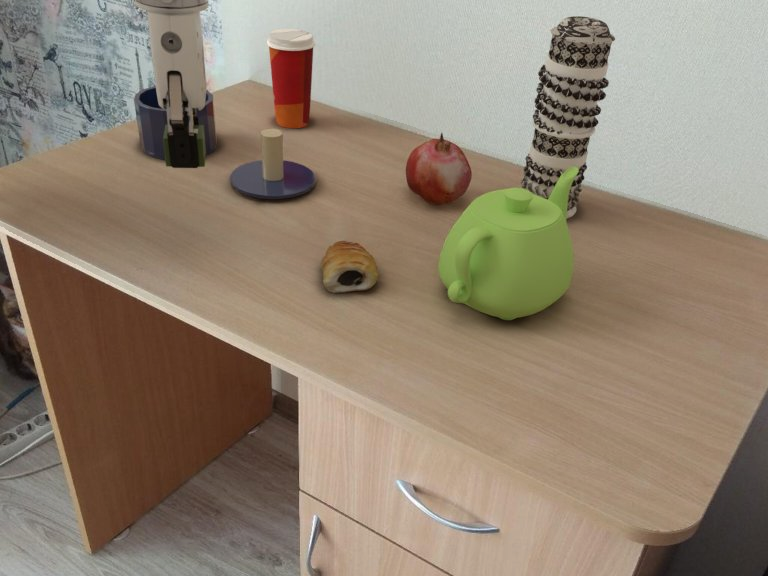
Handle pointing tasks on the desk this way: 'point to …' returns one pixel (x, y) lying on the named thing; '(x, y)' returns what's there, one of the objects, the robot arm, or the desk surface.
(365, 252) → the pastry
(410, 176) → the fruit
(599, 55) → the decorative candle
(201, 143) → the olive cube with label
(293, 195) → the lid
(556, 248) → the teapot
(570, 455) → the desk surface
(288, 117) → the paper cup
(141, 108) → the dark blue round pot
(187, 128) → the robot arm
